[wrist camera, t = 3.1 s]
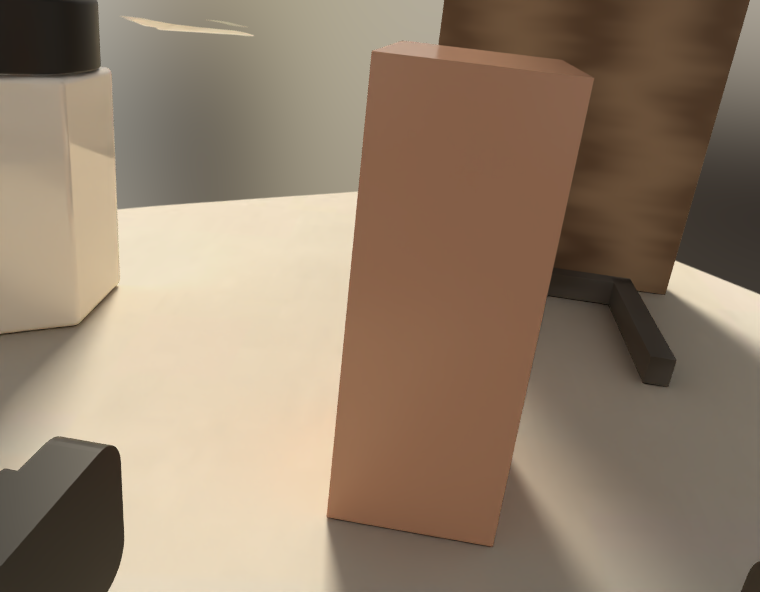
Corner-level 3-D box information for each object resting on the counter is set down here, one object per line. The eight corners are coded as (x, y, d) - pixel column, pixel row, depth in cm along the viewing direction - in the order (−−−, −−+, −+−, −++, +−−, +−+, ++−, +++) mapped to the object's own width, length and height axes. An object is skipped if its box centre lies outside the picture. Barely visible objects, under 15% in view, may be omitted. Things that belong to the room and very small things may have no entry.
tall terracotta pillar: (326, 517, 19) (371, 50, 14) (361, 403, 24) (401, 40, 20) (493, 546, 19) (594, 78, 14) (490, 424, 24) (561, 59, 19)
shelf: (376, 377, 26) (479, -484, 17) (413, 246, 41) (479, -253, 32) (760, 438, 25) (1094, -448, 16) (656, 281, 40) (798, -226, 31)
